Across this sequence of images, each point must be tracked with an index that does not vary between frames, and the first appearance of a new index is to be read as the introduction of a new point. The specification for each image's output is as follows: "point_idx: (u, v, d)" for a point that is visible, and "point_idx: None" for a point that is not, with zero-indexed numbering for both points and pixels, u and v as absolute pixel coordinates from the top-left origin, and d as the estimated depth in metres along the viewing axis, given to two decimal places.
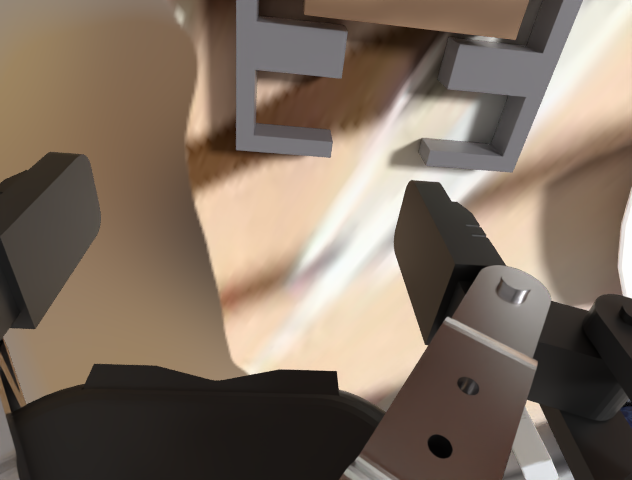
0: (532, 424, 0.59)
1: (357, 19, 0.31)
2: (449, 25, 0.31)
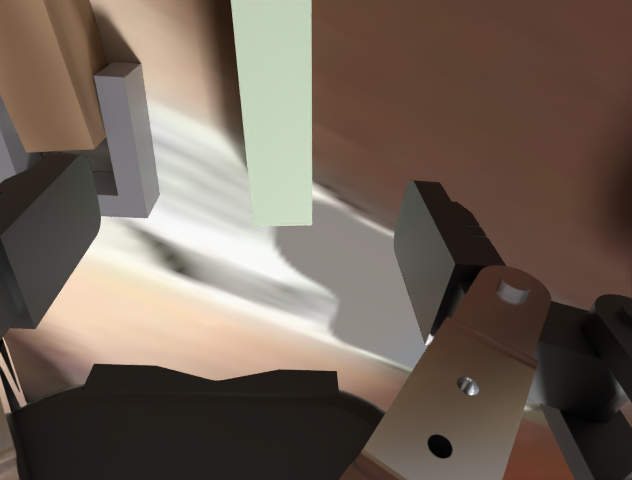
0: None
1: None
2: None
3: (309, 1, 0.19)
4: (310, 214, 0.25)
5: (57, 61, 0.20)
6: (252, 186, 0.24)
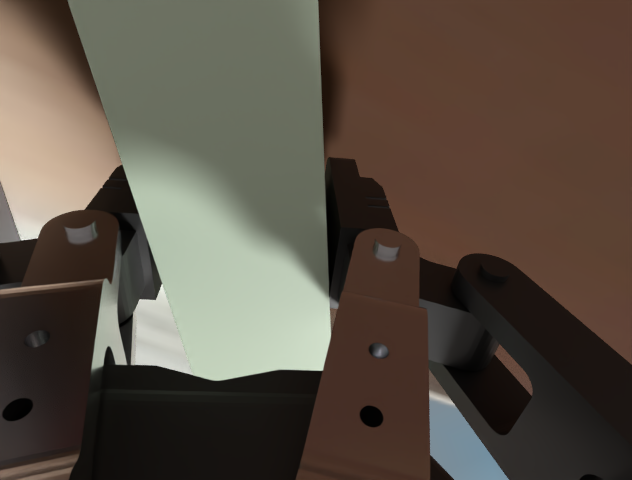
0: None
1: None
2: None
3: (316, 73, 0.07)
4: None
5: None
6: None
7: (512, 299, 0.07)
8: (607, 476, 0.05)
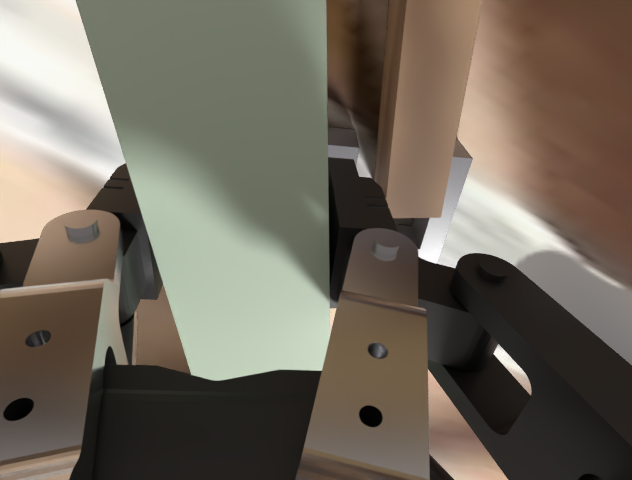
0: None
1: None
2: (400, 135, 0.23)
3: (322, 80, 0.07)
4: None
5: (448, 151, 0.24)
6: None
7: (511, 299, 0.07)
8: (606, 475, 0.05)
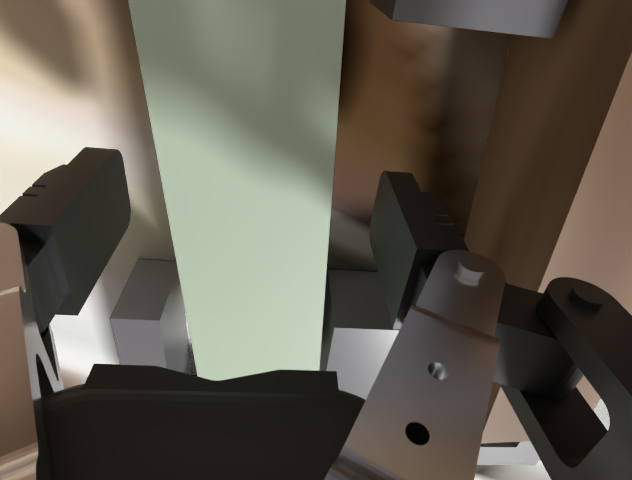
0: None
1: (619, 96, 0.08)
2: None
3: (336, 73, 0.08)
4: None
5: None
6: None
7: (602, 327, 0.07)
8: None
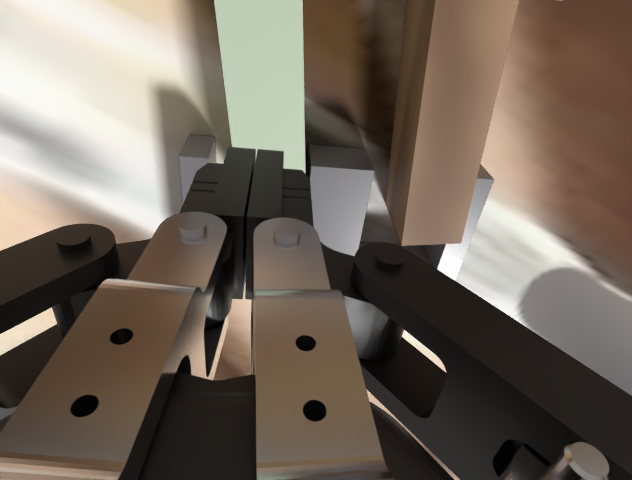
0: None
1: (436, 7, 0.18)
2: (421, 160, 0.22)
3: None
4: None
5: (472, 175, 0.22)
6: None
7: (411, 285, 0.07)
8: (525, 438, 0.06)
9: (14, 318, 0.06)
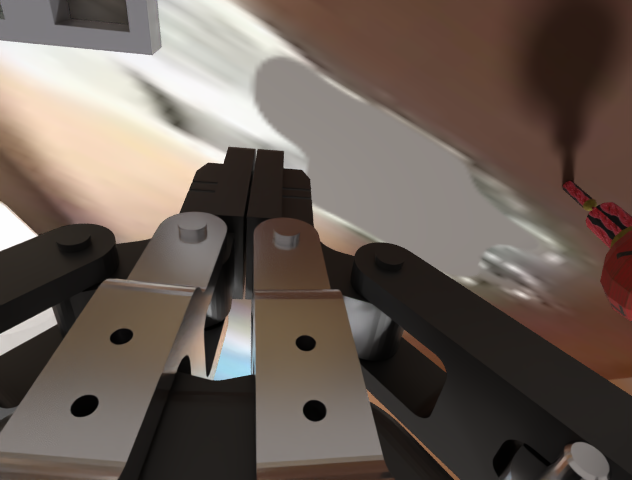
0: None
1: None
2: None
3: None
4: None
5: None
6: None
7: (411, 285, 0.07)
8: (525, 438, 0.06)
9: (14, 318, 0.06)
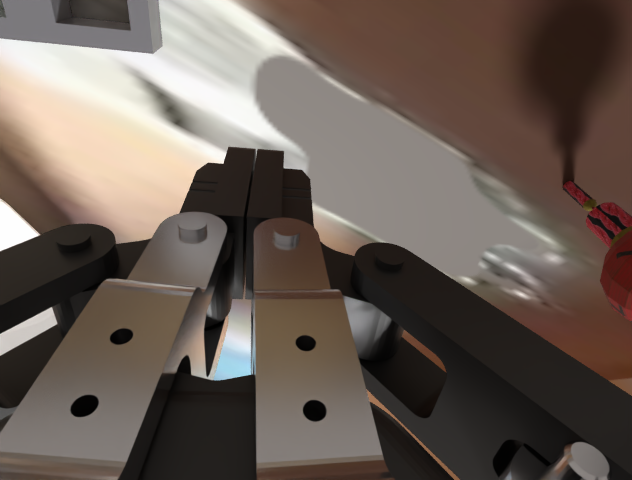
0: None
1: None
2: None
3: None
4: None
5: None
6: None
7: (411, 285, 0.07)
8: (525, 438, 0.06)
9: (14, 318, 0.06)
